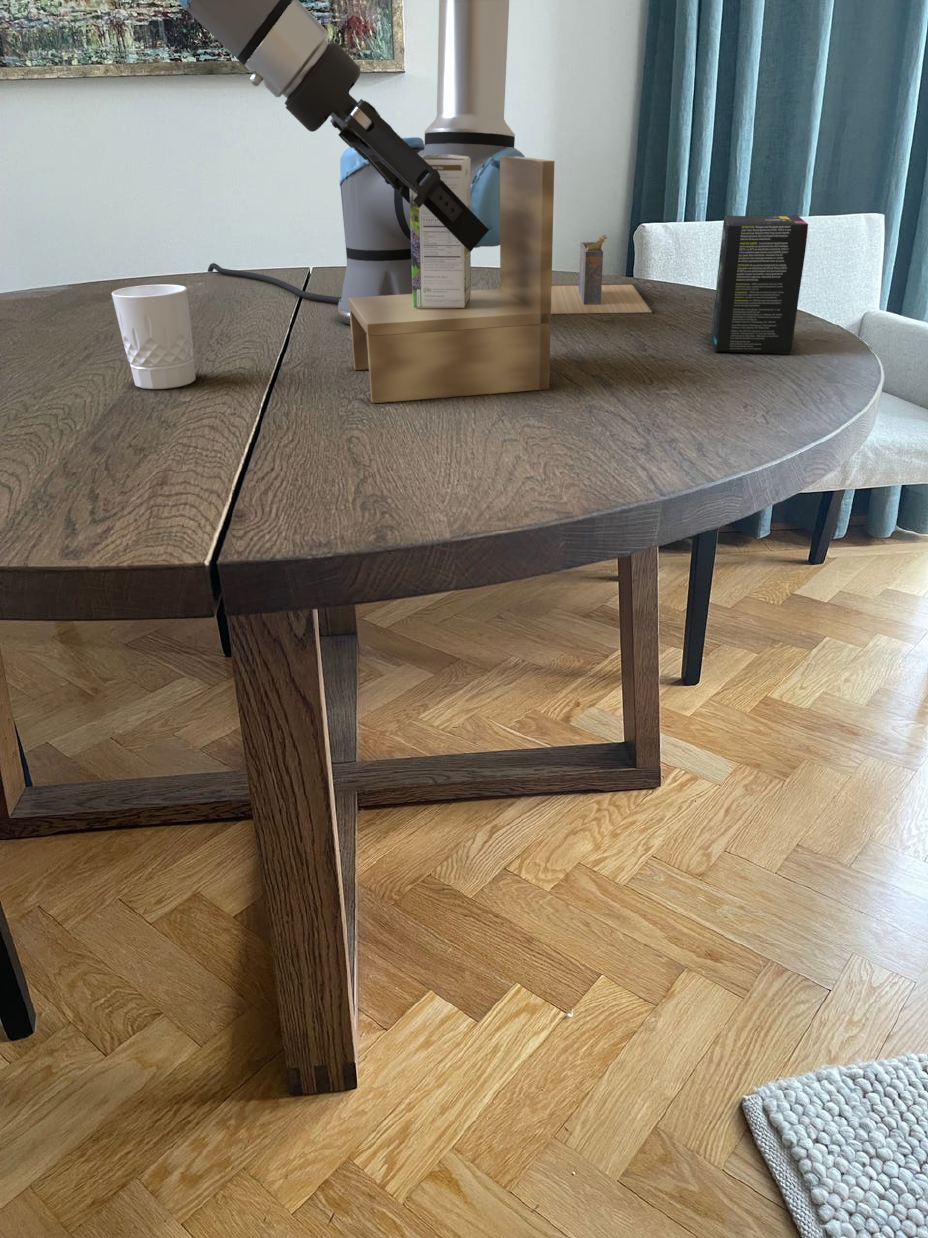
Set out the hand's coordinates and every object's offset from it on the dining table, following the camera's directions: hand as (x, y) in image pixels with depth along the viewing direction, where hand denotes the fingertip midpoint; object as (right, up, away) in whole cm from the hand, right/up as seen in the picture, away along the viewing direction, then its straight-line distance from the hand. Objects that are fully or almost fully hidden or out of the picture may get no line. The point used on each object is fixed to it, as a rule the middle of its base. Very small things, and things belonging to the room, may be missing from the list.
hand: (464, 233), depth 98 cm
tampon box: (+36, -6, +19) cm, 41 cm away
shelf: (-2, -14, +7) cm, 15 cm away
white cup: (-34, -14, +8) cm, 38 cm away
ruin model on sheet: (+20, +10, +50) cm, 55 cm away
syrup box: (-2, -7, +3) cm, 8 cm away
